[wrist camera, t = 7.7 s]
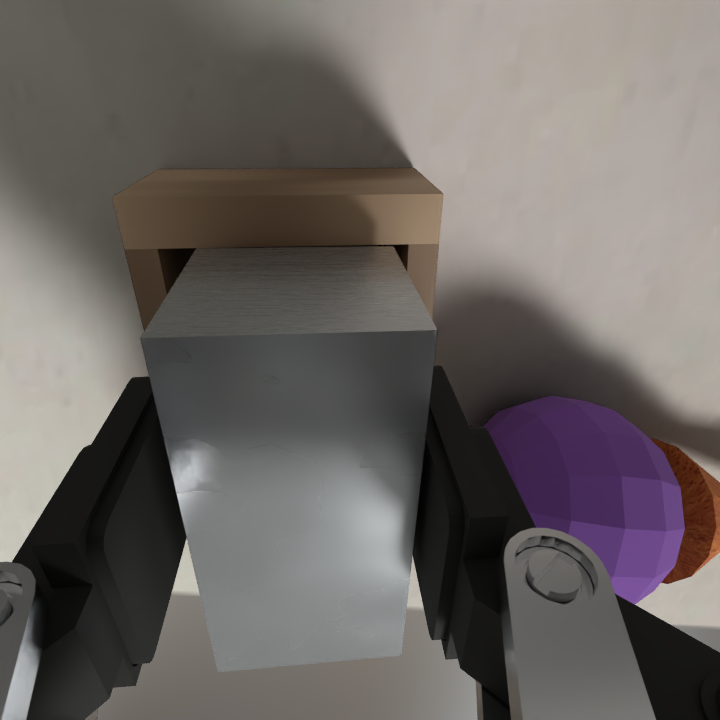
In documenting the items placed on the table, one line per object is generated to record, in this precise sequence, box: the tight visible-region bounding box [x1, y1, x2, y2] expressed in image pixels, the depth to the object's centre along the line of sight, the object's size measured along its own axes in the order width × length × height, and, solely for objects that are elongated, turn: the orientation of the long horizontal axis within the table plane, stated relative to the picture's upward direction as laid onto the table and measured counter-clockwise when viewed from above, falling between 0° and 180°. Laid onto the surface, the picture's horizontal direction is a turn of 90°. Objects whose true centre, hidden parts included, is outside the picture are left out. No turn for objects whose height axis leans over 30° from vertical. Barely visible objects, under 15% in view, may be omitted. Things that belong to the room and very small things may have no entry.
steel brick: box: [140, 245, 438, 672], centre depth 11 cm, size 4×7×7 cm, turn 179°
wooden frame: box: [112, 168, 443, 331], centre depth 12 cm, size 6×9×3 cm, turn 0°
